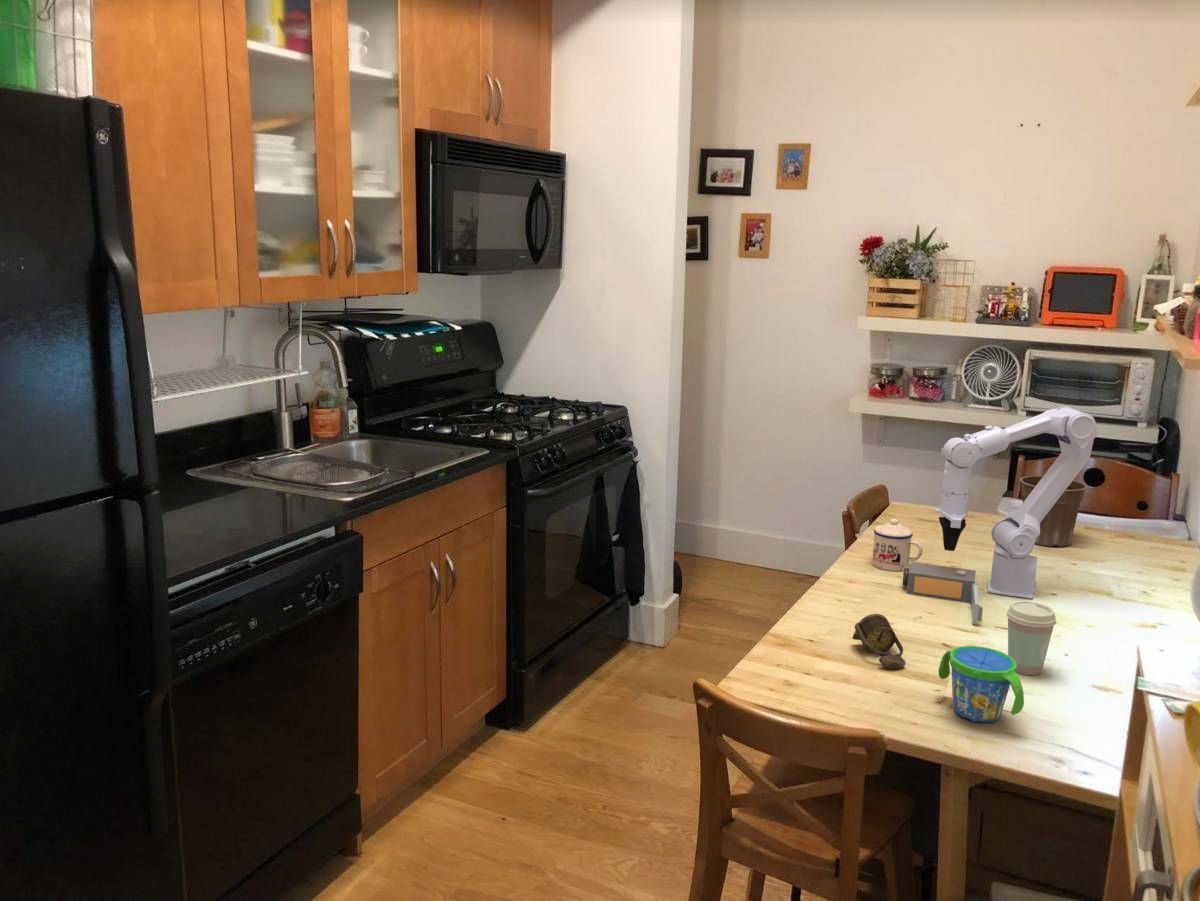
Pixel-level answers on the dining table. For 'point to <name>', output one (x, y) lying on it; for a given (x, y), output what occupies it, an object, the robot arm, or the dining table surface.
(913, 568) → the camera body
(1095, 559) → the dining table surface
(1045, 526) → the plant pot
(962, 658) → the snack cup
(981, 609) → the grey long bar
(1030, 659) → the coffee cup
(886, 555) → the teacup with lid
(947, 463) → the robot arm
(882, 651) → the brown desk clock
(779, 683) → the dining table surface
